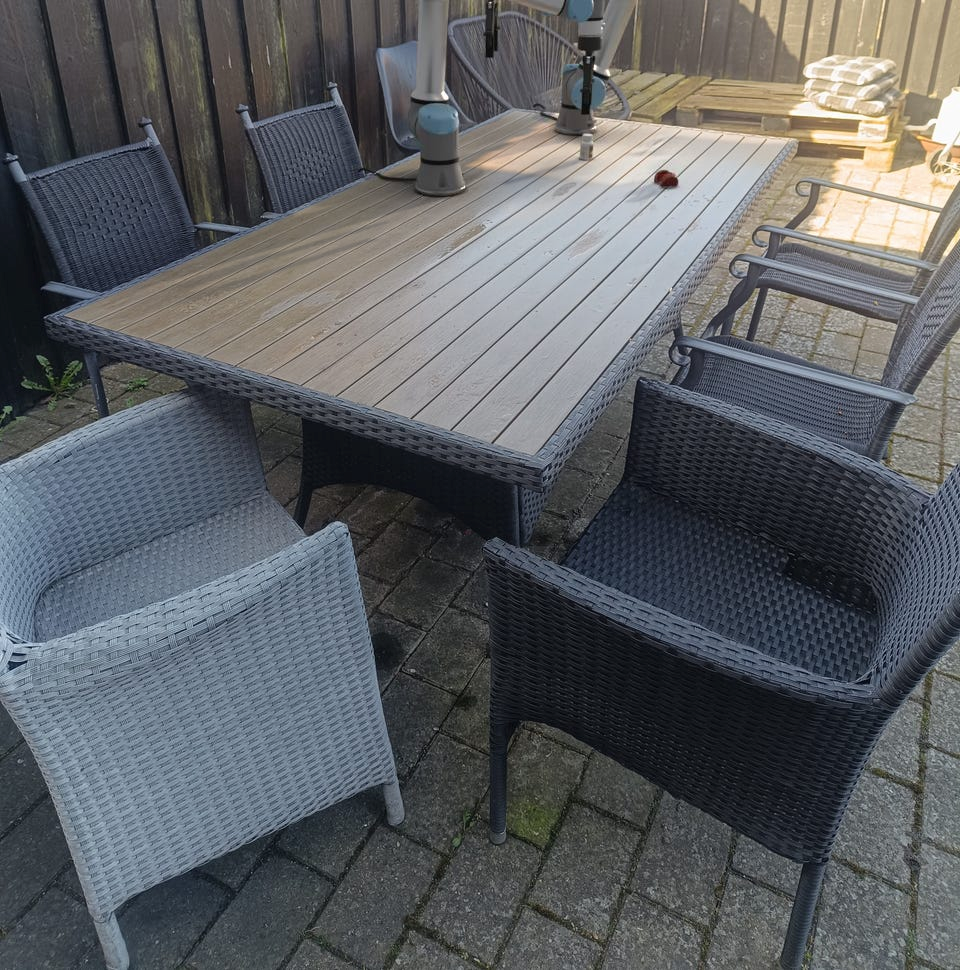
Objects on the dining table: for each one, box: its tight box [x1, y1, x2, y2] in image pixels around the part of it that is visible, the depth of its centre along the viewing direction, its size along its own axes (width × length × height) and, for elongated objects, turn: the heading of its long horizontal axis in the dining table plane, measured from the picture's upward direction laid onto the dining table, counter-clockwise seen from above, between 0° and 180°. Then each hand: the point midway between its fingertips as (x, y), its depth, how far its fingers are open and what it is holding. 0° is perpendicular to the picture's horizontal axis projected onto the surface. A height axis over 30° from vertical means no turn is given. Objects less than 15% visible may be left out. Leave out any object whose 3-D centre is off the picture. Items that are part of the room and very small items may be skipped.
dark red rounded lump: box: [653, 169, 679, 188], centre depth 261 cm, size 6×4×8 cm
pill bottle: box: [579, 133, 595, 161], centre depth 285 cm, size 4×4×8 cm
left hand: (586, 109), depth 270 cm, fingers open, 13 cm apart
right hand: (491, 54), depth 289 cm, fingers open, 13 cm apart
